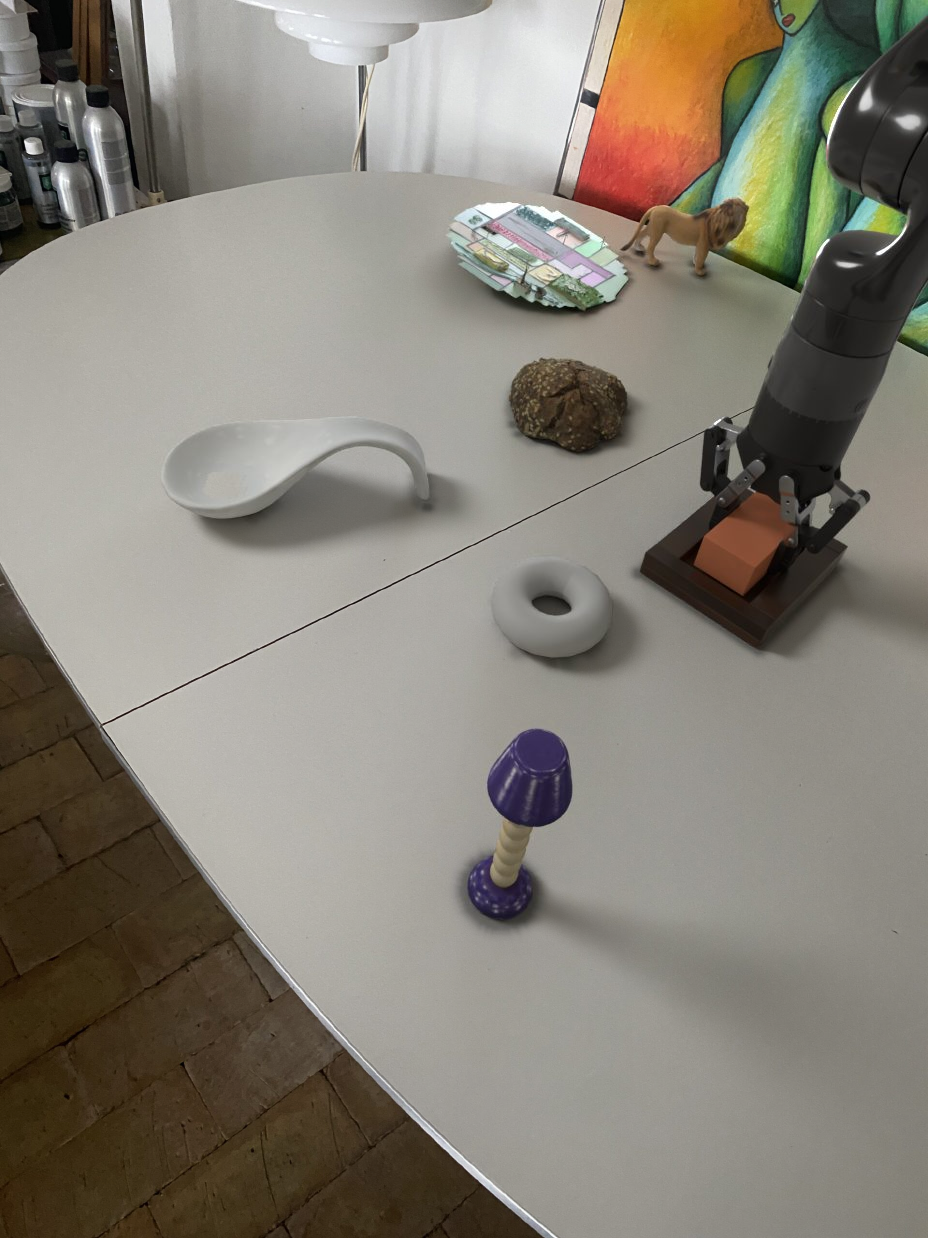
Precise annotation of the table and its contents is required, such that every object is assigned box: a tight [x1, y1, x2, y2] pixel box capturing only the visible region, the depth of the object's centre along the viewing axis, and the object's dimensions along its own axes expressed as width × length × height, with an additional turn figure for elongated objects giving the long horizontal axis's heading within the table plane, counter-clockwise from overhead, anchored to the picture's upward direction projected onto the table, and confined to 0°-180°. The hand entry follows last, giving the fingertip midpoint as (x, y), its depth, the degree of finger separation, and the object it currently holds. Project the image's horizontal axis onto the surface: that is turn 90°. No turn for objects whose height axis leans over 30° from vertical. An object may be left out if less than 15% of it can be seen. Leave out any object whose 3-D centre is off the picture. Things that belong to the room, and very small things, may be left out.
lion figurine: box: [619, 196, 750, 276], centre depth 111 cm, size 15×5×9 cm, turn 80°
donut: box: [490, 555, 614, 659], centre depth 71 cm, size 10×3×10 cm
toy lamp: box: [467, 728, 574, 920], centre depth 51 cm, size 5×5×17 cm
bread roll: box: [508, 357, 629, 453], centre depth 89 cm, size 13×12×5 cm
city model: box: [444, 201, 629, 312], centre depth 109 cm, size 25×23×6 cm
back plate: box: [639, 479, 848, 650], centre depth 77 cm, size 14×12×2 cm
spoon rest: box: [160, 415, 430, 519], centre depth 78 cm, size 24×12×7 cm, turn 99°
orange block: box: [694, 491, 784, 596], centre depth 75 cm, size 9×5×4 cm, turn 136°
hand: (746, 551), depth 76 cm, fingers closed on orange block, 5 cm apart
